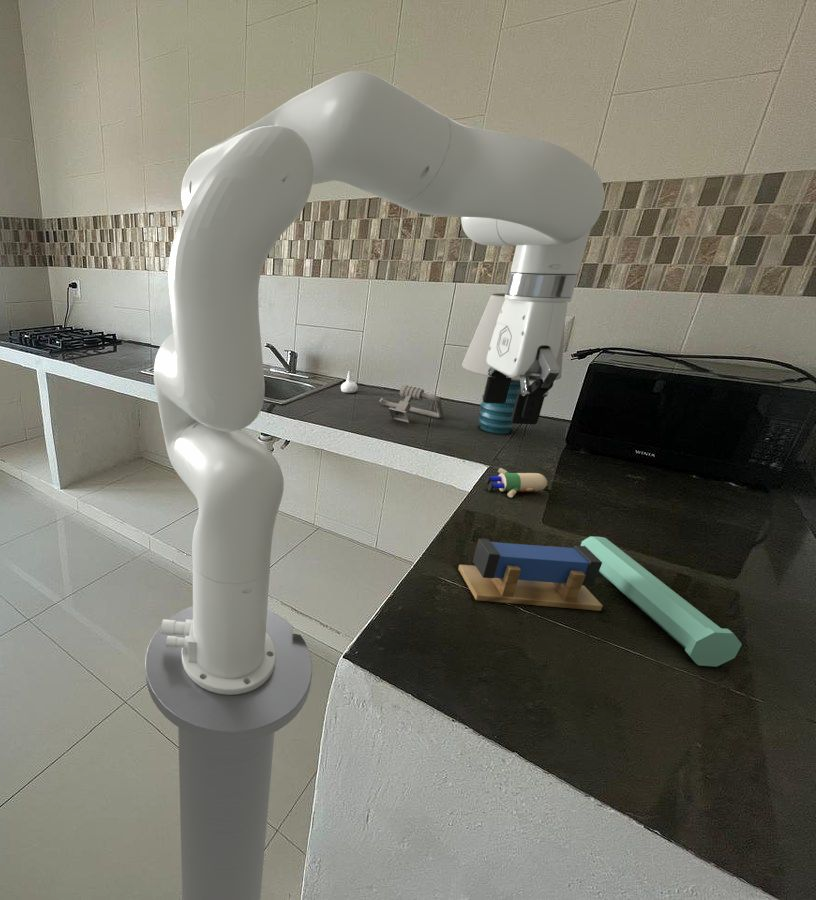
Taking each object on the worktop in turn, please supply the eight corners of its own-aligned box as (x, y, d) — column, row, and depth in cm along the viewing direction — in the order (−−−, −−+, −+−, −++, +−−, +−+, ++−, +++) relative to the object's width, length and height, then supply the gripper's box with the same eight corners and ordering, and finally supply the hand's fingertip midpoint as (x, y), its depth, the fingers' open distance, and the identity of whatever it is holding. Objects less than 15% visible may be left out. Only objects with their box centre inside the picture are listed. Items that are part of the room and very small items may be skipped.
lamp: (435, 427, 148) (462, 294, 133) (468, 411, 164) (495, 291, 149) (527, 451, 131) (569, 302, 116) (554, 430, 147) (594, 297, 132)
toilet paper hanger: (447, 413, 157) (441, 388, 147) (432, 441, 154) (425, 417, 144) (383, 398, 171) (374, 375, 162) (368, 424, 169) (358, 401, 159)
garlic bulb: (358, 394, 182) (360, 373, 179) (341, 393, 183) (343, 373, 180) (355, 390, 188) (358, 369, 185) (339, 389, 189) (341, 369, 186)
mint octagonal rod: (586, 524, 84) (714, 625, 61) (615, 537, 84) (753, 641, 61) (564, 550, 86) (679, 657, 63) (592, 563, 86) (717, 673, 63)
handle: (482, 577, 75) (489, 554, 73) (472, 561, 79) (478, 538, 77) (593, 586, 73) (602, 562, 71) (576, 569, 77) (585, 545, 75)
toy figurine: (491, 503, 108) (548, 503, 106) (498, 491, 104) (557, 491, 103) (480, 475, 113) (534, 474, 112) (486, 462, 110) (542, 462, 108)
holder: (475, 600, 74) (484, 568, 72) (457, 569, 82) (465, 539, 79) (601, 611, 72) (614, 578, 70) (571, 578, 80) (582, 547, 77)
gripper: (483, 284, 72) (459, 395, 78) (542, 292, 56) (506, 431, 62) (536, 285, 71) (508, 397, 77) (612, 294, 55) (568, 434, 61)
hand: (507, 412), depth 70 cm, fingers open, 9 cm apart
